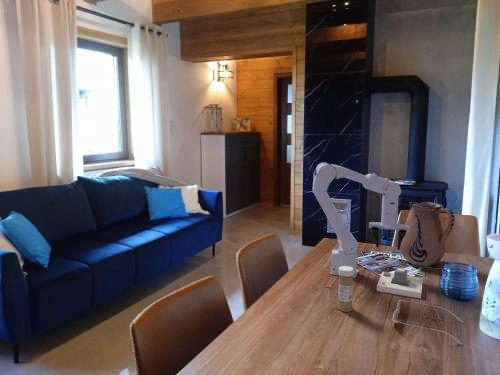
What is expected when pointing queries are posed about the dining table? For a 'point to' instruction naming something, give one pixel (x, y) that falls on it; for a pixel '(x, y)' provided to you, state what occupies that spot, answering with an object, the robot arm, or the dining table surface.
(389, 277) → the socket plate
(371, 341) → the dining table surface
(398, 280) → the plug
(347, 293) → the sprinkles bottle
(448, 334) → the eyeglasses
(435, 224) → the ceramic pitcher
